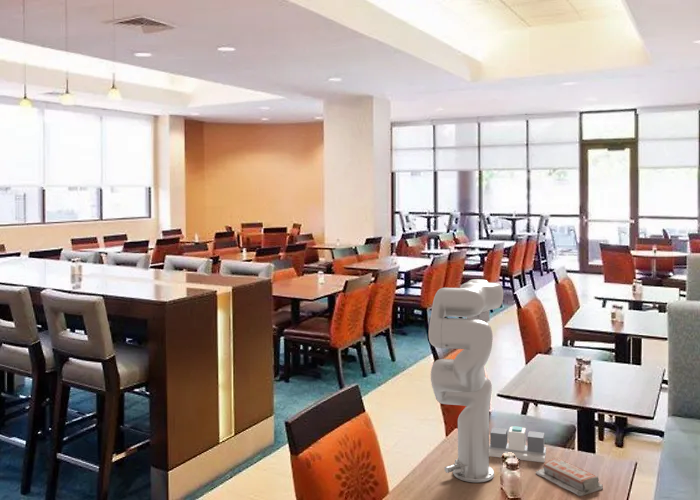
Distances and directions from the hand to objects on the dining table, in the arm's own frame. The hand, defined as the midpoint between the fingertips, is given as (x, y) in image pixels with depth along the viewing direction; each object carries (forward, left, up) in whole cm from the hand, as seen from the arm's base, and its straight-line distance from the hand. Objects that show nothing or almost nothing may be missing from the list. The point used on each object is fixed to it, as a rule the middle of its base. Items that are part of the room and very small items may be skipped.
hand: (478, 365), depth 226 cm
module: (+7, -12, -26) cm, 29 cm away
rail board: (+7, -12, -28) cm, 32 cm away
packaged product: (+7, -35, -29) cm, 46 cm away
